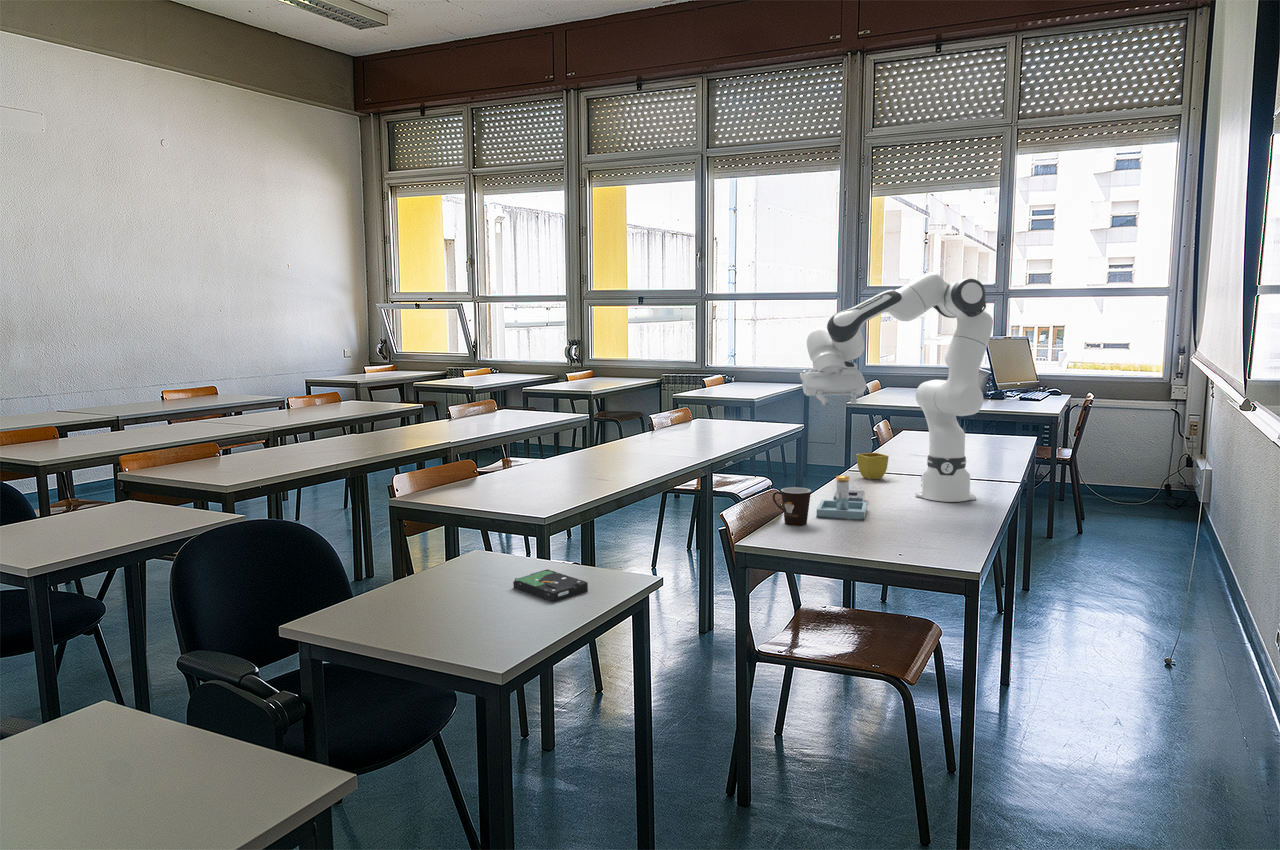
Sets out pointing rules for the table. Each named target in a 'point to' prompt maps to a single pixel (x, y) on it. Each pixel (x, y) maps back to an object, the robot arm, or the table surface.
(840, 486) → the orange capped bottle
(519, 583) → the disk drive
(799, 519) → the coffee mug
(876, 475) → the flower pot
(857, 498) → the socket block
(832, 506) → the tray
